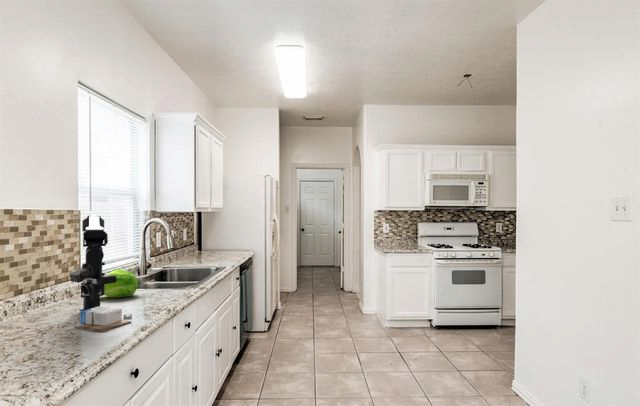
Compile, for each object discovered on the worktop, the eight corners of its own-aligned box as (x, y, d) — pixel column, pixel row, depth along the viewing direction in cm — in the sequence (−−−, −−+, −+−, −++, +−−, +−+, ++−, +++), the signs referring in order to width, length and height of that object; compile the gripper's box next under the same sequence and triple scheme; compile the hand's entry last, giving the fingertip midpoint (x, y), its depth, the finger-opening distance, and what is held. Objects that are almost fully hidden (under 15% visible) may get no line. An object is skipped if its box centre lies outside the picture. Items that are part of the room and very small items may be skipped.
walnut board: (74, 327, 141) (74, 326, 141) (105, 318, 153) (105, 317, 153) (101, 332, 136) (101, 330, 136) (131, 322, 148) (131, 321, 148)
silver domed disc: (121, 319, 154) (121, 315, 154) (128, 317, 156) (128, 313, 157) (127, 319, 152) (127, 316, 152) (133, 317, 155) (133, 314, 155)
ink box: (79, 323, 143) (104, 326, 140) (80, 310, 143) (104, 313, 140) (98, 318, 152) (122, 320, 148) (99, 305, 152) (122, 308, 149)
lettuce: (86, 307, 181) (97, 303, 195) (135, 294, 186) (143, 292, 201) (81, 277, 182) (92, 276, 197) (130, 265, 188) (138, 265, 202)
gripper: (57, 261, 143) (56, 302, 142) (91, 264, 136) (90, 307, 136) (84, 258, 153) (83, 296, 153) (118, 260, 147) (117, 300, 146)
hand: (93, 300), depth 147 cm, fingers closed
